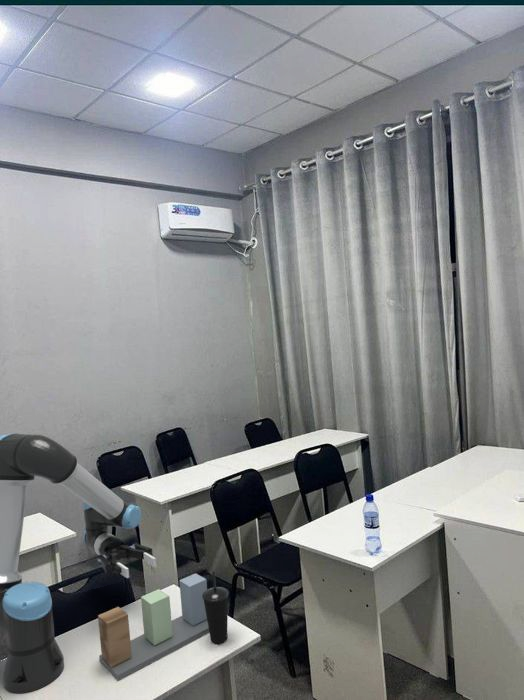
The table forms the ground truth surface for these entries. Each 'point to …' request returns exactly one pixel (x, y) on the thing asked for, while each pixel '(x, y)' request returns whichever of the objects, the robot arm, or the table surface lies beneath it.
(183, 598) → the blue-grey tall block
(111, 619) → the brown wooden block
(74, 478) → the robot arm
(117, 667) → the grey flat board
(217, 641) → the drinking cup
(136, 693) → the table surface
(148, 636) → the pale green block
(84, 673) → the table surface
